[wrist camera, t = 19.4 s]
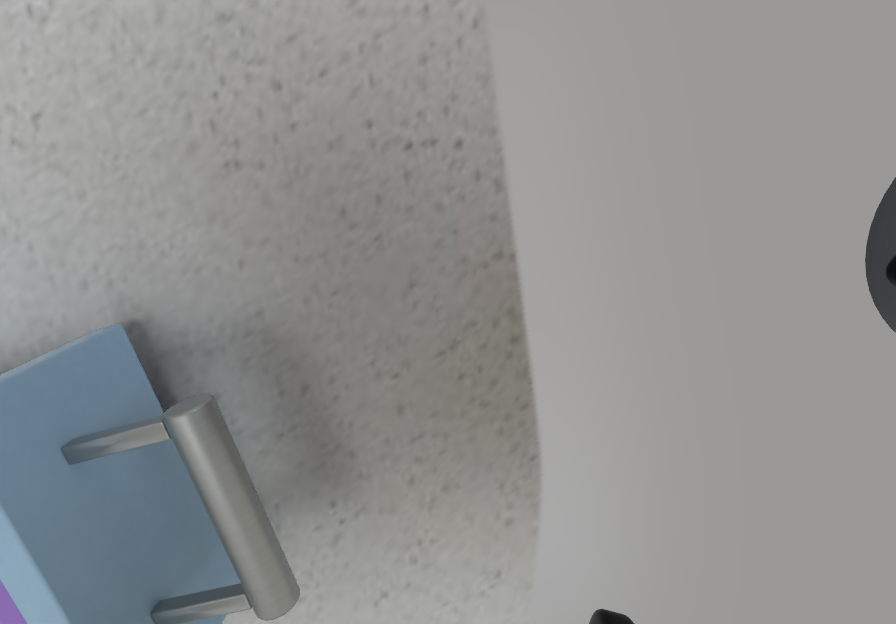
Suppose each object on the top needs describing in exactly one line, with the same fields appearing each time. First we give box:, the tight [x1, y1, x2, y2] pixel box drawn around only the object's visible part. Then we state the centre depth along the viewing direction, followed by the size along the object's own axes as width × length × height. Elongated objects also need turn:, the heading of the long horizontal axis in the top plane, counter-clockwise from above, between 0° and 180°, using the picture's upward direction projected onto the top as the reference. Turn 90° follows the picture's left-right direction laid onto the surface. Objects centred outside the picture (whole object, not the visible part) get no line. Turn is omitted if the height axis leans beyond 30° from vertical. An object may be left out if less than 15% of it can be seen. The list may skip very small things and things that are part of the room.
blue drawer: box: [0, 324, 300, 624], centre depth 18 cm, size 18×11×7 cm, turn 107°
